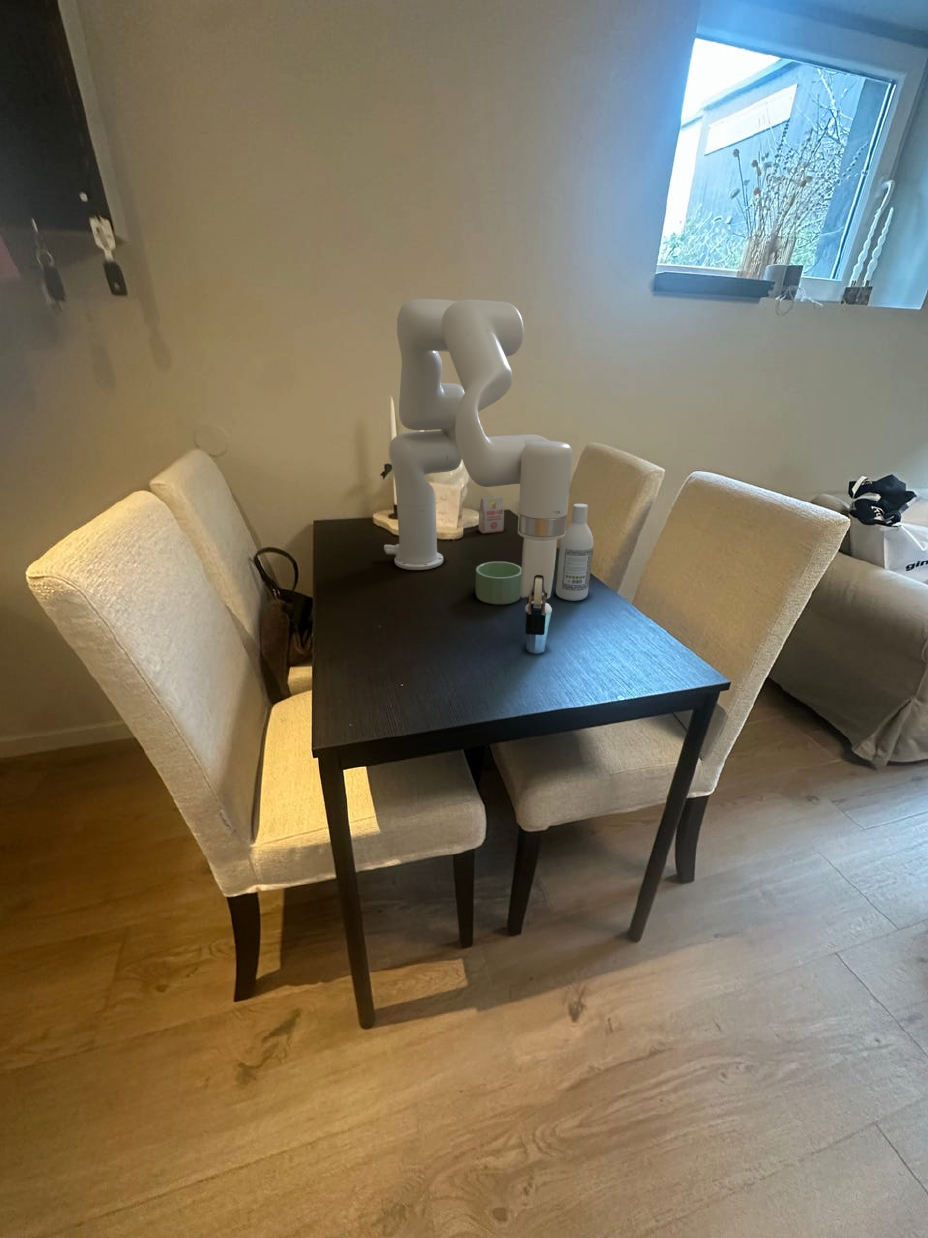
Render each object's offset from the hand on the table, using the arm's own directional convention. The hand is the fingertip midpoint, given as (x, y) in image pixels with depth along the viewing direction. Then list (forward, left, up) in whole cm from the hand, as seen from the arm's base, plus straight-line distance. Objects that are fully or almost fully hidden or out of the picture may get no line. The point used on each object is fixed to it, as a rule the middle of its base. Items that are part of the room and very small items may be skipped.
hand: (534, 625), depth 87 cm
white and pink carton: (-14, +71, -5) cm, 73 cm away
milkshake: (0, 0, -5) cm, 5 cm away
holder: (-8, +23, -5) cm, 25 cm away
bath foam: (+8, +25, -5) cm, 27 cm away
